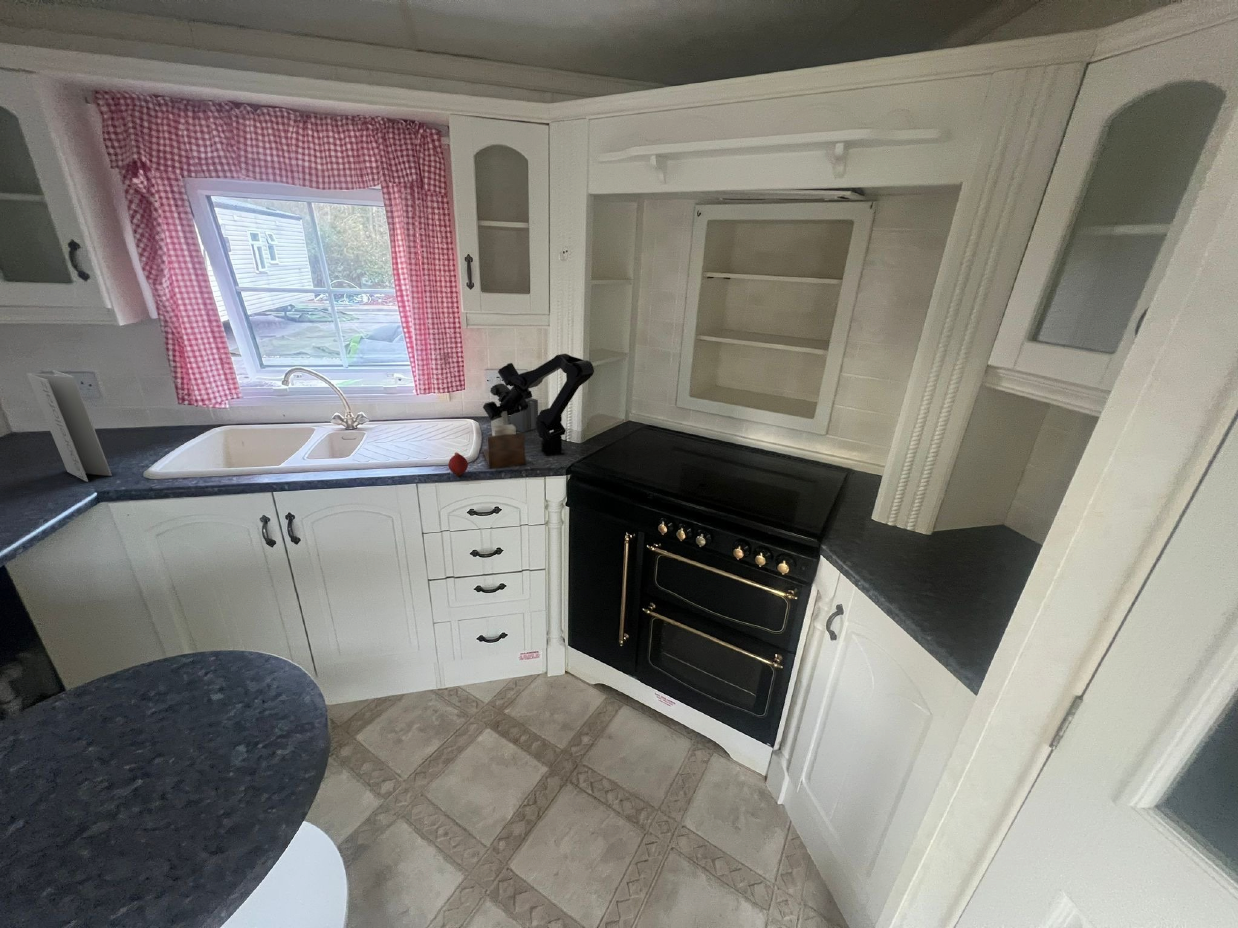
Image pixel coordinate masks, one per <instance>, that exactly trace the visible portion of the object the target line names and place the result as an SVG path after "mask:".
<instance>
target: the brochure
mask: <svg viewBox="0 0 1238 928" xmlns="http://www.w3.org/2000/svg"><path fill="white" fill-rule="evenodd" d="M52 373H53V374H44V373H43V374H41V373H30V372H29V373H28V372H27V373H26V376H27V378H28V381H29V383H30V385H31V387H32V388H31V389H32V390H33V393H34V395H35V397H36V400H37V402H38V405H39V407H40V409H41V412H42V414H43V417H44V420H45V421H46V424H47V426H48V429H49V431H50V434H51V436H52V438H53V441H54V443H55V445H56V448H57V451H58V453H59V456H60V457H61V460H62V462H63V465H64V468H65V470H66V472H67V473H69V474H71V475H73V476H75V477H76V478H79V479H80V480H82V481H84V482H86V483H89V479H88V477H87V475H97V476H106V477H107V476H108V477H112V476H113V474H112V471H111V469H110V466H109V463H108V461H107V458H106V456H105V453H104V451H103V447H102V446H101V443H100V440H99V437H98V434H97V432H96V429H95V426H94V424H93V422H92V418H91V416H90V414H89V411H88V407H87V406H86V403H85V400H84V398H83V395H82V393H81V390H80V387H79V384H78V381H77V379H76V376H73V375H70V374H66V373H64V372H62V371H61V372H60V371H58V370H52Z"/></svg>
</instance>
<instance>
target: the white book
mask: <svg viewBox="0 0 1238 928" xmlns="http://www.w3.org/2000/svg"><path fill="white" fill-rule="evenodd" d="M501 416H502V417H501V418H498V419H496V420H493V421H491V420H490V426H491V427H490V428H491V436H493V429H492V426H499V425H509V422H508V421H509V419H508V416H507V411H504V412H502V414H501Z"/></svg>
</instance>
